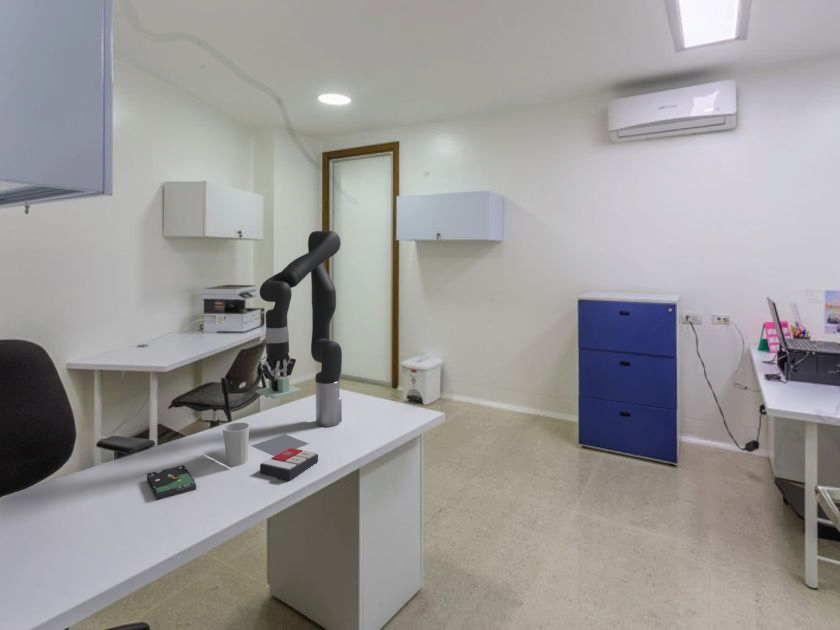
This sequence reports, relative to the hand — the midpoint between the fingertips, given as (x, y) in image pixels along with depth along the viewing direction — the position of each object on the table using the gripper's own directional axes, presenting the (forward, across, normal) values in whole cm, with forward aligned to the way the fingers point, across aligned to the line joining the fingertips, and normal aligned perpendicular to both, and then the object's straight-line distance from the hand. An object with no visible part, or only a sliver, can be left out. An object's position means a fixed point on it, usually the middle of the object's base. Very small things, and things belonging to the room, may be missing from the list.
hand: (279, 389), depth 166 cm
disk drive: (+21, +37, 0) cm, 43 cm away
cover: (+1, 0, 0) cm, 1 cm away
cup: (+20, +17, +1) cm, 27 cm away
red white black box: (+21, +9, +17) cm, 28 cm away
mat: (+20, 0, 0) cm, 20 cm away
